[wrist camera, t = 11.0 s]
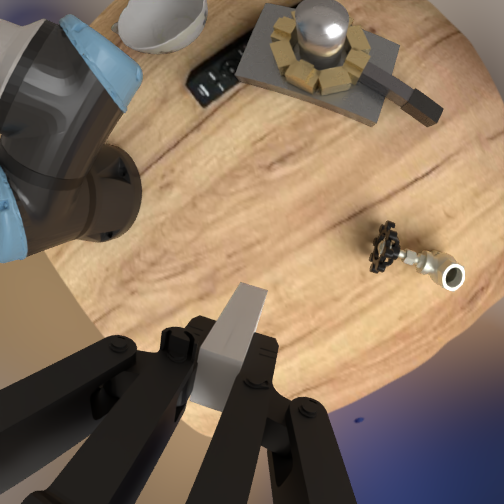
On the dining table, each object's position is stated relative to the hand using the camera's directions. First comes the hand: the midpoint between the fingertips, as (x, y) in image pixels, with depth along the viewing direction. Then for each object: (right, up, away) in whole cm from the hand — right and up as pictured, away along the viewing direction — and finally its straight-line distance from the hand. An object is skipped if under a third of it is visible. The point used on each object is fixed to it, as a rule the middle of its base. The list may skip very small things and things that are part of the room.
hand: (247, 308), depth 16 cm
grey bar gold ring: (+13, +24, +13) cm, 30 cm away
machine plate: (+9, +28, +17) cm, 33 cm away
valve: (+22, +3, +21) cm, 30 cm away
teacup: (-11, +36, +19) cm, 42 cm away
